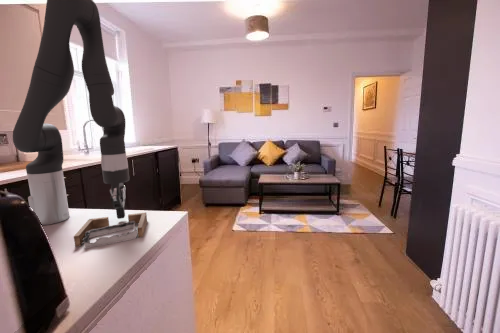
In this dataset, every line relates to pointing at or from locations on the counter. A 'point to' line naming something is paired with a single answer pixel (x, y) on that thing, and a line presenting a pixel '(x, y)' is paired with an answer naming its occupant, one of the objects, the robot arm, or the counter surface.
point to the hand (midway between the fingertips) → (121, 217)
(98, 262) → the counter surface
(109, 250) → the counter surface
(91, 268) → the counter surface
